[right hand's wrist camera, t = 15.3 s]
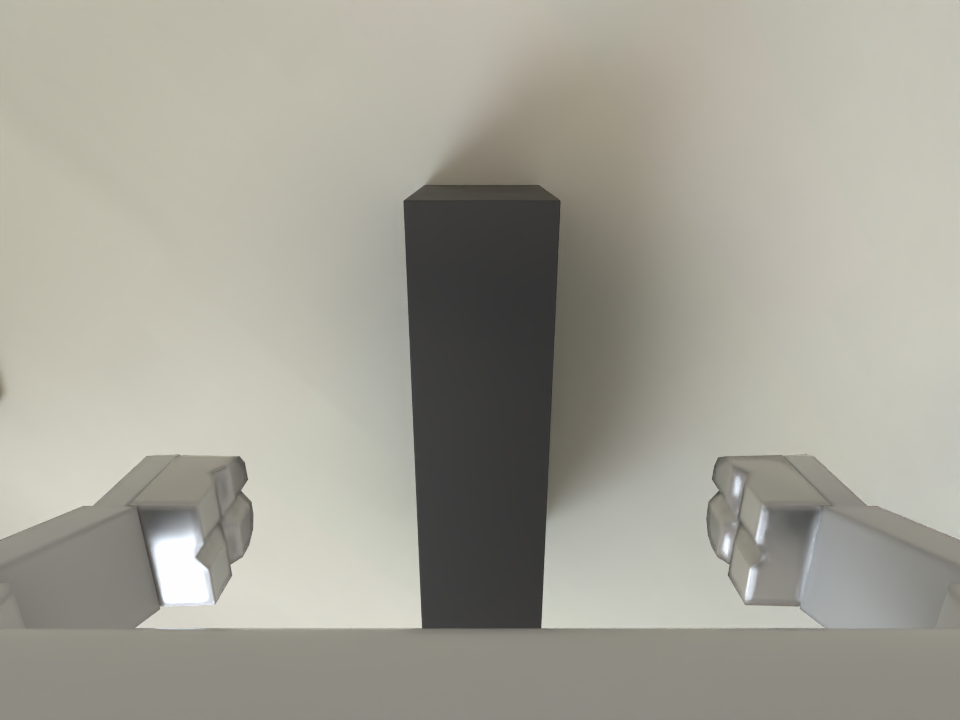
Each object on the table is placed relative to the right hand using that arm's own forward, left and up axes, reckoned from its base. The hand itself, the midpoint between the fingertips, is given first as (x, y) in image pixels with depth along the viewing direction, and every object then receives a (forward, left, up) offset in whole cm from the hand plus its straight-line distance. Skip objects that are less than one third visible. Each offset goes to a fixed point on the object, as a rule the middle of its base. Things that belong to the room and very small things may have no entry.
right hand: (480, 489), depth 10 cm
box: (-1, +8, -25) cm, 26 cm away
